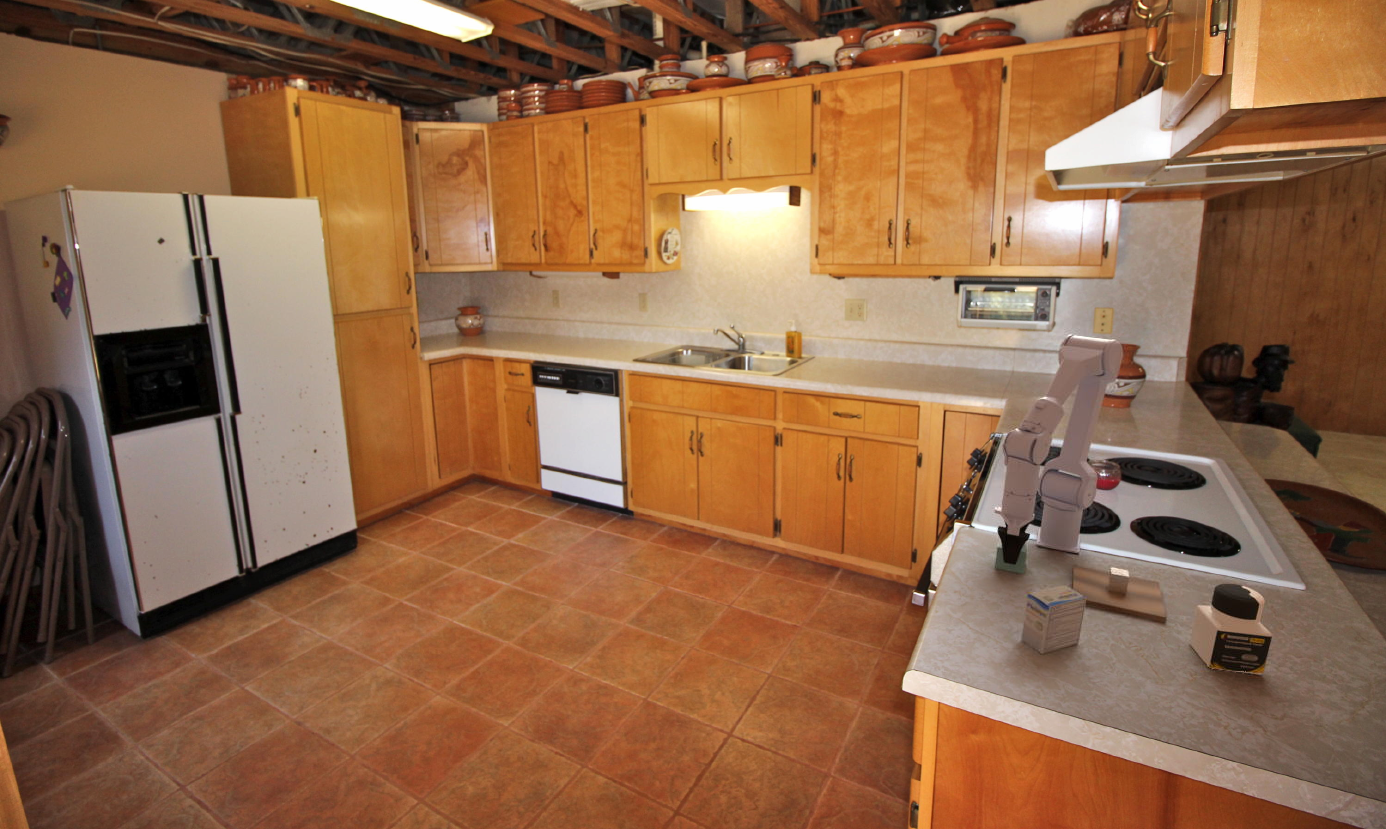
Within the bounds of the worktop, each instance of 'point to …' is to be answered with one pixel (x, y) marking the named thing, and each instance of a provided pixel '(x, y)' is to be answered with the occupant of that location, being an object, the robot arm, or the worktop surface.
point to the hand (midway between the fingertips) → (1011, 555)
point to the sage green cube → (1010, 567)
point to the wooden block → (1118, 580)
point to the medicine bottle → (1232, 630)
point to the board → (1136, 602)
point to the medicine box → (1053, 618)
